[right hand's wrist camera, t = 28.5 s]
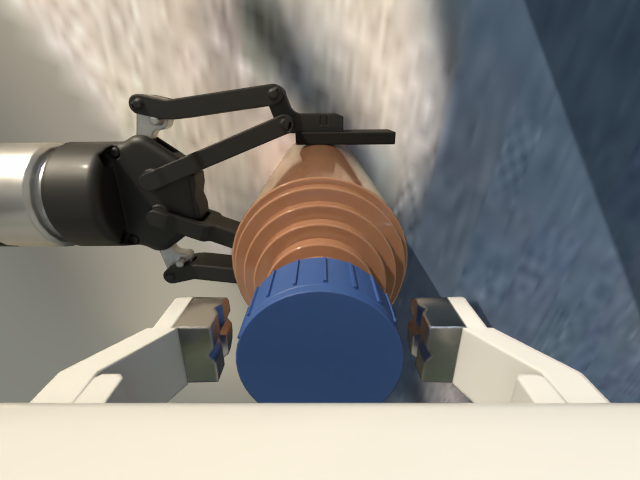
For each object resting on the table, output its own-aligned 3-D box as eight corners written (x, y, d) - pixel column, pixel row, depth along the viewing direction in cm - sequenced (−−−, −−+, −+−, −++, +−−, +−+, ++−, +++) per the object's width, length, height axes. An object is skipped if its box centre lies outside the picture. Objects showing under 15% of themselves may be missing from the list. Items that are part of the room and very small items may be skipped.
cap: (234, 264, 10) (215, 299, 8) (388, 247, 9) (404, 279, 8) (261, 381, 11) (251, 432, 9) (394, 368, 11) (408, 418, 9)
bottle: (295, 122, 29) (224, 175, 8) (372, 152, 30) (503, 274, 8) (270, 199, 32) (164, 401, 10) (341, 224, 32) (384, 459, 11)
